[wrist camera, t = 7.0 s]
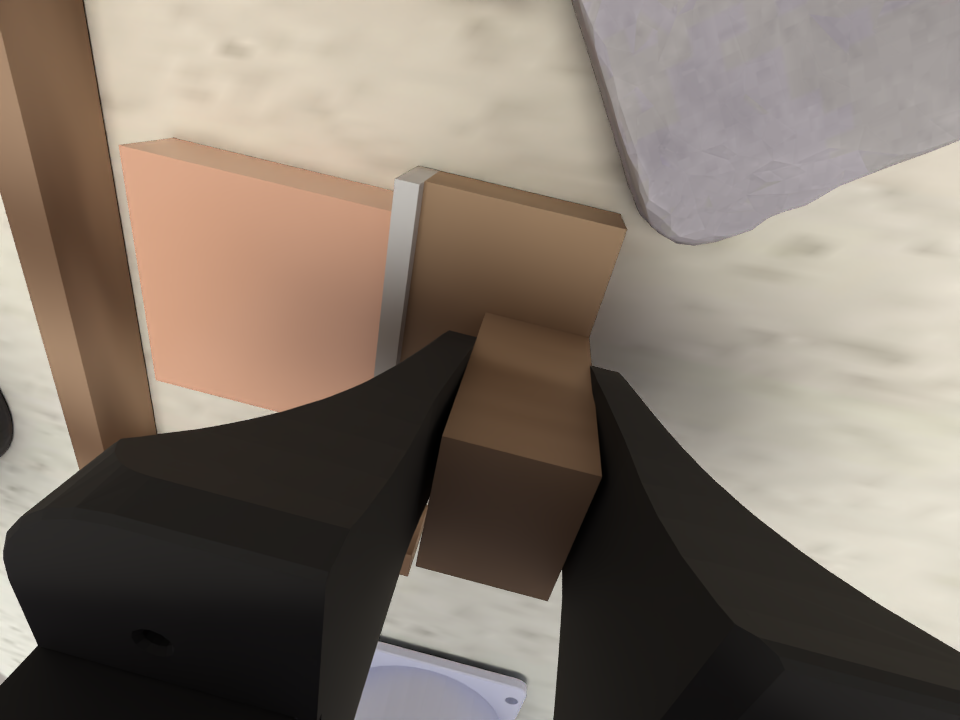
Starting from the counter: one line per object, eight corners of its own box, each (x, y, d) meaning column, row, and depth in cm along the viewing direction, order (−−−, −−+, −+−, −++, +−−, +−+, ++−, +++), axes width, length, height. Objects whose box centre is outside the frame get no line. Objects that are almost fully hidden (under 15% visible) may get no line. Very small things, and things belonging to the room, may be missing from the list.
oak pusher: (532, 473, 15) (514, 676, 10) (383, 435, 15) (291, 615, 10) (620, 214, 11) (668, 325, 6) (418, 165, 11) (293, 233, 6)
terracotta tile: (391, 395, 15) (368, 435, 13) (202, 346, 15) (155, 380, 13) (418, 194, 12) (393, 211, 10) (182, 136, 12) (118, 145, 10)
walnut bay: (423, 526, 17) (407, 576, 15) (133, 450, 17) (85, 490, 16) (545, -71, 9) (540, -108, 7) (1, -190, 9) (-128, -253, 8)
